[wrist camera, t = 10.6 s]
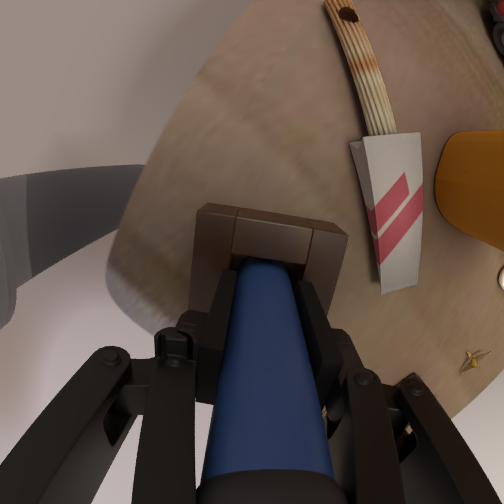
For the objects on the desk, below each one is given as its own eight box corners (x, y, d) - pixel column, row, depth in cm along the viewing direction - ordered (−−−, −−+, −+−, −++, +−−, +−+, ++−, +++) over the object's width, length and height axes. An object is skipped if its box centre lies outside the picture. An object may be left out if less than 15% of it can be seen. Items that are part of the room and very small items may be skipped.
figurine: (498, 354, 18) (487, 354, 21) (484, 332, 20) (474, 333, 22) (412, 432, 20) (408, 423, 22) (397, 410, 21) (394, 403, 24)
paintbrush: (381, 306, 15) (313, -12, 10) (367, 289, 18) (307, 9, 13) (433, 291, 15) (370, -9, 10) (414, 277, 18) (358, 9, 13)
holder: (196, 316, 19) (186, 340, 16) (207, 202, 17) (197, 210, 14) (306, 331, 19) (313, 357, 17) (334, 223, 17) (349, 235, 14)
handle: (230, 299, 18) (179, 576, 3) (238, 246, 17) (167, 572, 2) (285, 307, 18) (322, 579, 3) (297, 255, 17) (396, 559, 2)
